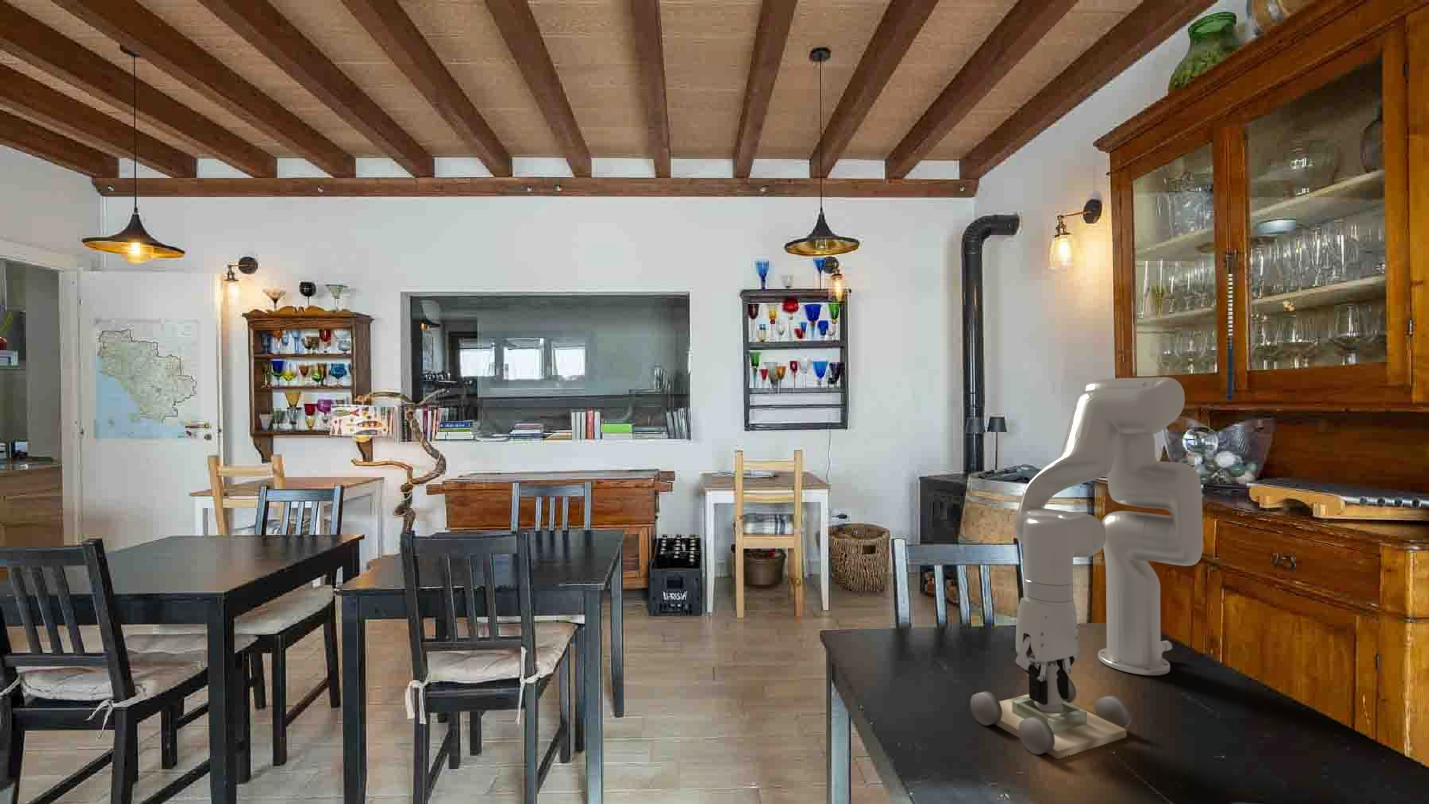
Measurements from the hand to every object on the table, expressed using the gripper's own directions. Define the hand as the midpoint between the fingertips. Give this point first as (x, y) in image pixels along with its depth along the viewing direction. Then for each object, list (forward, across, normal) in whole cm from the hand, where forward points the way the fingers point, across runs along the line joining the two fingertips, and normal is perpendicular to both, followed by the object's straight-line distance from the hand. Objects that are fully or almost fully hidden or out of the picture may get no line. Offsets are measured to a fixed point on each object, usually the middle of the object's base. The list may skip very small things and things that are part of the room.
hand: (1048, 697), depth 111 cm
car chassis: (+5, 0, 0) cm, 5 cm away
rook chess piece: (+2, 0, 0) cm, 2 cm away
